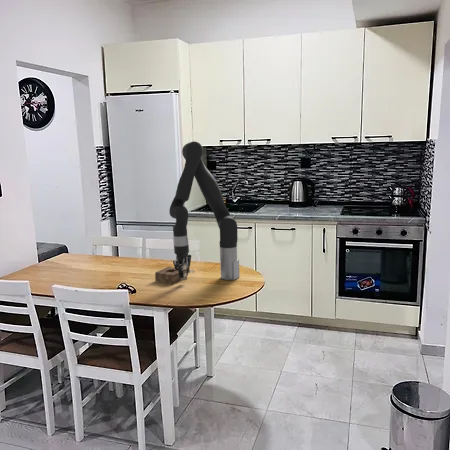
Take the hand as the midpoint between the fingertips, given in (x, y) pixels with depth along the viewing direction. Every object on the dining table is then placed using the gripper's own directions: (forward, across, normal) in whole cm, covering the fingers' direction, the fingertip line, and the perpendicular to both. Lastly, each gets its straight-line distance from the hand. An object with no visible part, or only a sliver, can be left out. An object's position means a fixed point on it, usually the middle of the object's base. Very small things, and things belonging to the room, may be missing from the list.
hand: (183, 276), depth 221 cm
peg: (+2, 0, 0) cm, 2 cm away
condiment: (+4, +19, +12) cm, 23 cm away
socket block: (+4, +4, +11) cm, 12 cm away
